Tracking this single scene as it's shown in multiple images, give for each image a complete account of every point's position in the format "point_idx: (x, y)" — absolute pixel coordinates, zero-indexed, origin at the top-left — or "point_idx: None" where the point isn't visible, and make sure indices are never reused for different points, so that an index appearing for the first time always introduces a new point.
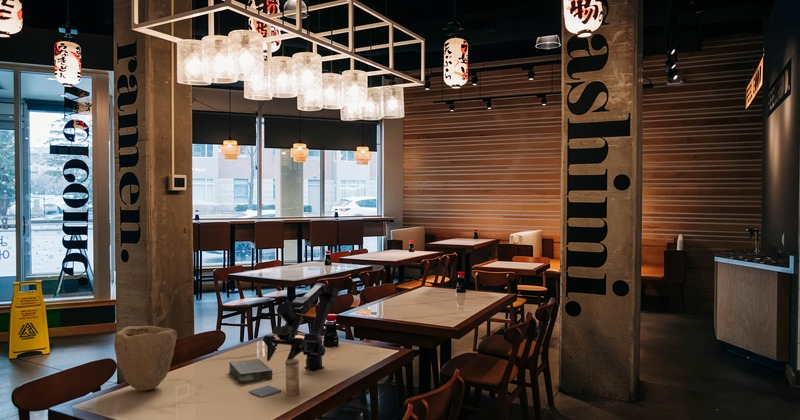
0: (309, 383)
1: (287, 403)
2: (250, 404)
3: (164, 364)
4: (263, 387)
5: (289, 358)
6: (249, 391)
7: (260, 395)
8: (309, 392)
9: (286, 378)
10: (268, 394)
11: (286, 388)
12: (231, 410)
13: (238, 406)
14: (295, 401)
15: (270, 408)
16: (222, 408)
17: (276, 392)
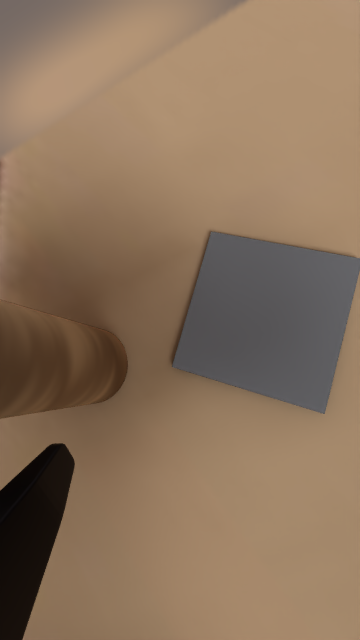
0: (106, 582)
1: (44, 247)
2: (198, 144)
3: None
4: (320, 359)
5: (8, 494)
6: (350, 257)
7: (225, 239)
8: (25, 426)
9: (49, 314)
10: (198, 279)
11: (90, 326)
12: (227, 48)
13: (235, 95)
14: (24, 285)
15: (78, 164)
16: (291, 35)
17: (183, 333)
